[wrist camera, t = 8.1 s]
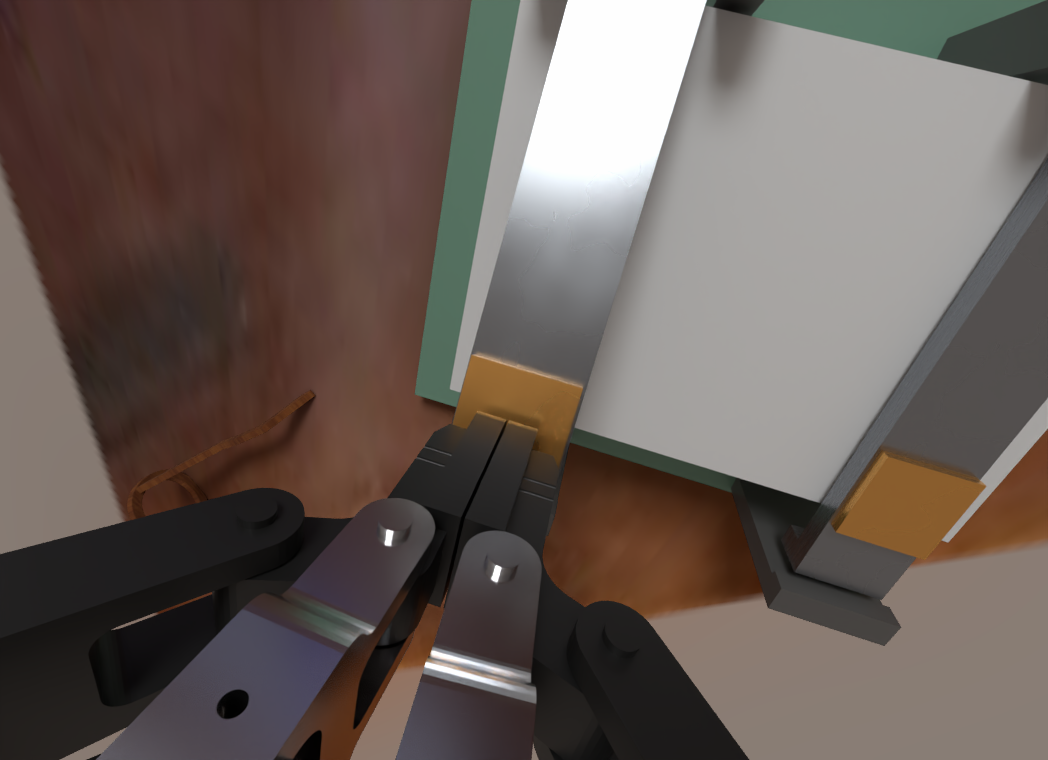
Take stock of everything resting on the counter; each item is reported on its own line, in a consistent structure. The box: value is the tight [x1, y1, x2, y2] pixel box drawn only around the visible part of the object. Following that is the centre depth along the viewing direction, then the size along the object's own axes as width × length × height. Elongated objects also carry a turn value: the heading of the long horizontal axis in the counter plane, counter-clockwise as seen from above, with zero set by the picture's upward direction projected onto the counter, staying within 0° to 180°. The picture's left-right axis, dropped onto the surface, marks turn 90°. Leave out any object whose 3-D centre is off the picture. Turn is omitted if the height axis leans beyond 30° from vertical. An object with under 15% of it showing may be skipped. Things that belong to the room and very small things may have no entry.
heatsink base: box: [415, 0, 1048, 646], centre depth 16 cm, size 20×24×8 cm
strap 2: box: [781, 159, 1048, 600], centre depth 13 cm, size 16×3×2 cm, turn 167°
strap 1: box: [452, 0, 707, 486], centre depth 12 cm, size 16×3×2 cm, turn 166°
